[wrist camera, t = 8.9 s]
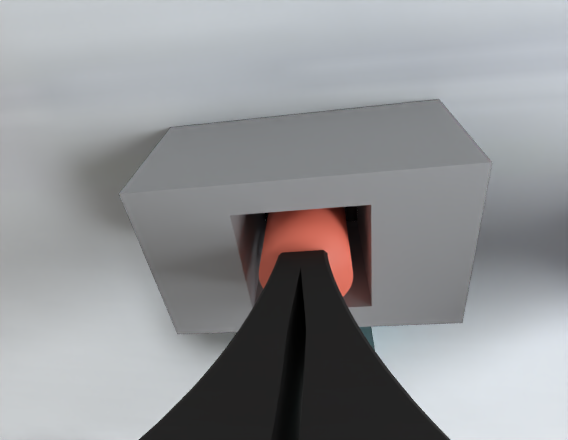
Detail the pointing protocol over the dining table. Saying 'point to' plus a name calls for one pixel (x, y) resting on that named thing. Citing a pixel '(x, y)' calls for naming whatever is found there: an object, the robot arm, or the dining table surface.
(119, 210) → the dining table surface
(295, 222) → the plunger
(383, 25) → the dining table surface
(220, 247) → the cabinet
